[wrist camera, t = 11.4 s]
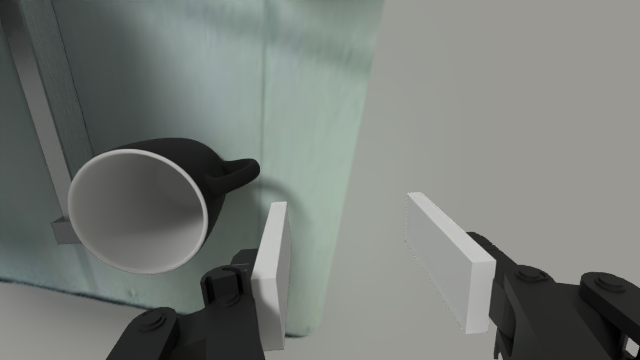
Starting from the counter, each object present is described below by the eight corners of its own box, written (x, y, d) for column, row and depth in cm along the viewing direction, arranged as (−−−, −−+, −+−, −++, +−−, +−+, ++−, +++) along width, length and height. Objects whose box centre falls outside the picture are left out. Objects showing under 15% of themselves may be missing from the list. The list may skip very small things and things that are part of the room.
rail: (91, 223, 31) (58, 244, 27) (7, -64, 24) (-55, -95, 20) (115, 221, 31) (86, 242, 27) (39, -65, 24) (-16, -96, 20)
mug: (165, 227, 32) (105, 289, 22) (127, 142, 29) (38, 170, 19) (280, 196, 31) (270, 245, 22) (251, 107, 29) (225, 118, 19)
